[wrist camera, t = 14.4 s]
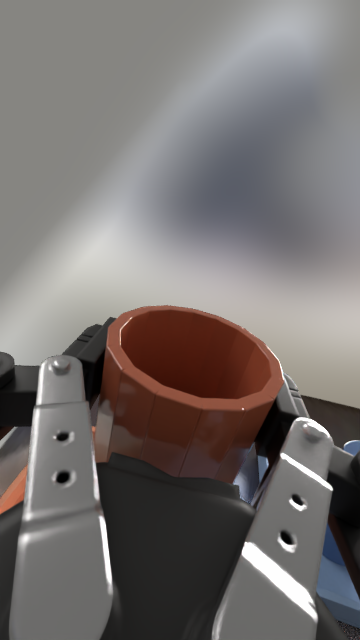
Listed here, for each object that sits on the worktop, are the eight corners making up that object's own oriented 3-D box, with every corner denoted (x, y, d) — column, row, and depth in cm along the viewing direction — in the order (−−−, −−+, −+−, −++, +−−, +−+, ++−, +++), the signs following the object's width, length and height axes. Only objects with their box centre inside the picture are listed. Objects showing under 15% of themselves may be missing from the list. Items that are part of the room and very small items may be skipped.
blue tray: (267, 594, 23) (279, 581, 22) (257, 454, 36) (264, 441, 35) (439, 658, 22) (460, 648, 21) (366, 490, 35) (376, 478, 34)
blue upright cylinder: (306, 553, 26) (359, 491, 22) (294, 491, 32) (334, 432, 27) (371, 576, 26) (438, 517, 21) (347, 509, 31) (397, 452, 27)
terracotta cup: (56, 563, 12) (67, 364, 7) (115, 448, 18) (143, 293, 13) (192, 618, 11) (300, 441, 7) (208, 480, 17) (272, 331, 12)
